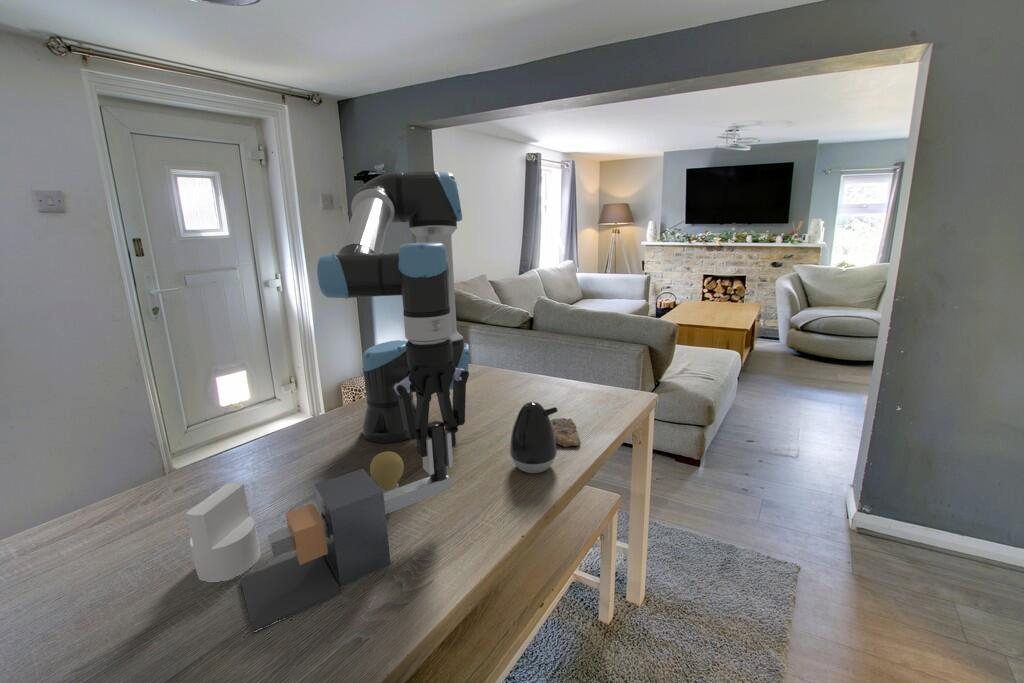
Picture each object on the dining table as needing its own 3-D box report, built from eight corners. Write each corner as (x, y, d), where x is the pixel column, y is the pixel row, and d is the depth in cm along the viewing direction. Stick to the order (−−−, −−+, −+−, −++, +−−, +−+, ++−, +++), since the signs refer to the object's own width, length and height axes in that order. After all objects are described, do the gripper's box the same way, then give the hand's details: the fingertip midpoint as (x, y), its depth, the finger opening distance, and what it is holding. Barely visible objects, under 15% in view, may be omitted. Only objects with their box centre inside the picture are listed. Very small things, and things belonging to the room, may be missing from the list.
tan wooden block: (290, 543, 74) (285, 512, 73) (317, 533, 77) (312, 503, 75) (299, 565, 70) (294, 532, 68) (328, 553, 72) (323, 521, 71)
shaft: (269, 547, 71) (256, 472, 68) (443, 482, 88) (438, 419, 84) (273, 558, 69) (259, 481, 66) (451, 489, 85) (447, 425, 82)
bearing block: (324, 554, 80) (313, 484, 76) (371, 535, 84) (363, 468, 81) (340, 586, 73) (330, 510, 69) (390, 563, 77) (383, 491, 74)
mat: (240, 581, 74) (240, 578, 74) (318, 550, 81) (318, 547, 80) (253, 633, 65) (252, 629, 64) (340, 593, 71) (339, 590, 71)
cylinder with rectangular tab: (233, 586, 73) (219, 517, 70) (183, 580, 75) (167, 512, 72) (272, 547, 82) (261, 484, 79) (225, 542, 83) (213, 480, 80)
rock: (539, 434, 122) (547, 444, 112) (543, 411, 122) (552, 420, 112) (571, 439, 123) (582, 450, 114) (575, 417, 123) (587, 426, 113)
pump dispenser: (554, 481, 100) (554, 413, 96) (506, 477, 102) (503, 410, 98) (560, 457, 109) (559, 395, 105) (515, 454, 111) (513, 393, 107)
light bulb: (377, 512, 91) (372, 464, 88) (370, 495, 96) (365, 450, 94) (410, 502, 93) (406, 456, 91) (401, 487, 99) (397, 443, 96)
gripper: (390, 352, 71) (404, 492, 77) (482, 335, 80) (488, 462, 86) (373, 342, 77) (386, 473, 83) (460, 327, 86) (467, 446, 92)
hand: (438, 467), depth 84 cm, fingers closed on shaft, 3 cm apart
